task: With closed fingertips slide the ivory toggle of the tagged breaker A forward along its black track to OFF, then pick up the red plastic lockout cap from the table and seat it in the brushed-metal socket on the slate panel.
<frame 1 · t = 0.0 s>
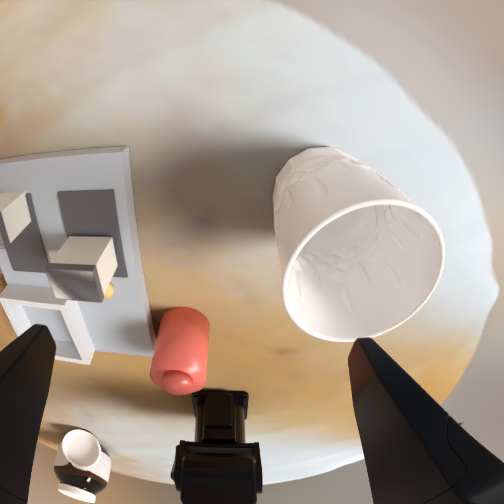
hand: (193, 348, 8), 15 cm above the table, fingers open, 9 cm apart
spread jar: (85, 438, 45), on the table
breaker A: (83, 267, 20), point 4 cm above the table, slide at 0.0 cm
panel: (66, 261, 24), on the table
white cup: (320, 191, 22), on the table
cap: (185, 324, 28), on the table
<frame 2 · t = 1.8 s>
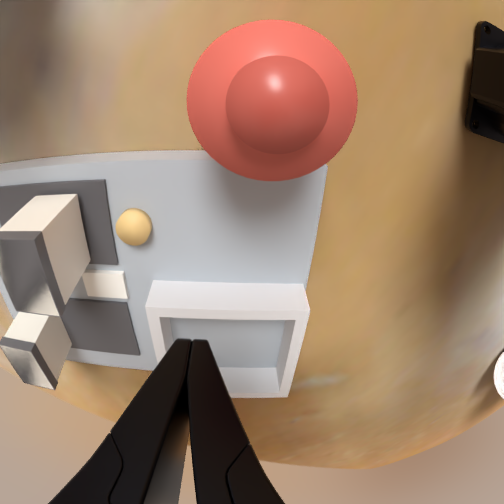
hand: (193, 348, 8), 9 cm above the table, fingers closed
breaker A: (44, 251, 12), point 4 cm above the table, slide at 0.0 cm
panel: (131, 273, 17), on the table
cap: (258, 86, 13), on the table
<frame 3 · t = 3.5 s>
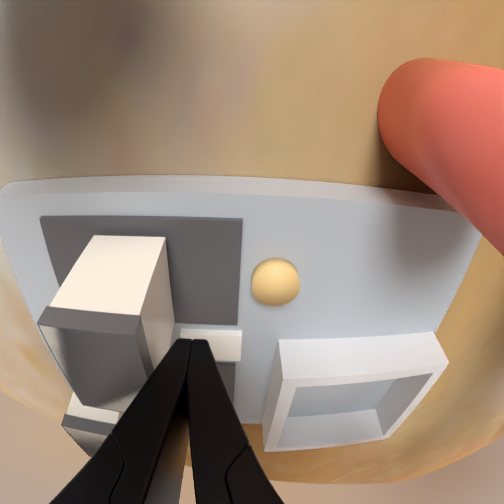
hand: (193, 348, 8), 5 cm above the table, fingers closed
breaker A: (120, 323, 9), point 4 cm above the table, slide at 1.0 cm, touching gripper
panel: (235, 326, 14), on the table
cap: (430, 116, 10), on the table
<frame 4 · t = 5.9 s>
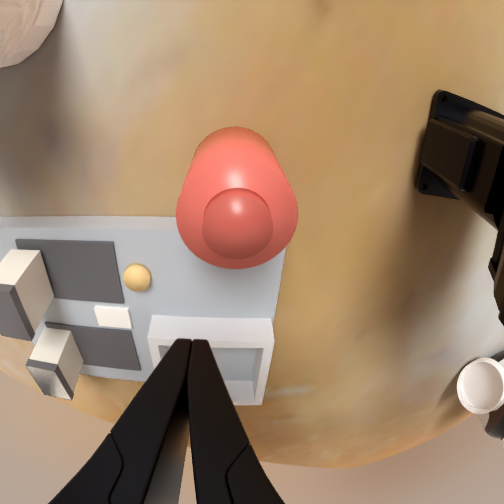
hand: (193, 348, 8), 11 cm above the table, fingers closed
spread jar: (483, 367, 32), on the table
breaker A: (18, 293, 15), point 4 cm above the table, slide at 3.6 cm
panel: (133, 307, 21), on the table
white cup: (18, 13, 10), on the table
cap: (234, 167, 17), on the table
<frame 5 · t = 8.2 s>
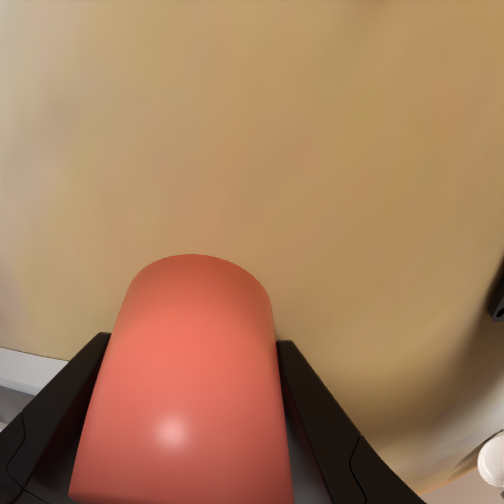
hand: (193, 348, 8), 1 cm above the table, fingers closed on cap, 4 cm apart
panel: (96, 433, 14), on the table
cap: (197, 316, 9), on the table, touching gripper
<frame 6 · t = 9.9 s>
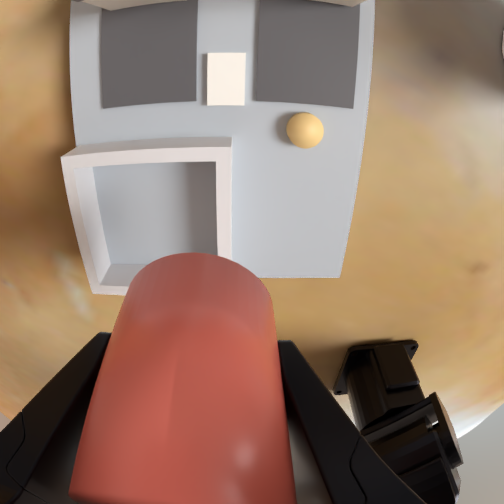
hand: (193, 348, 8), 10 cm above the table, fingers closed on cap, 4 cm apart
panel: (217, 97, 14), on the table
cap: (198, 315, 9), point 9 cm above the table, touching gripper
when the fingers open (4 cm above the table, at t = 11.5 s): cap drops 2 cm, resting on panel.
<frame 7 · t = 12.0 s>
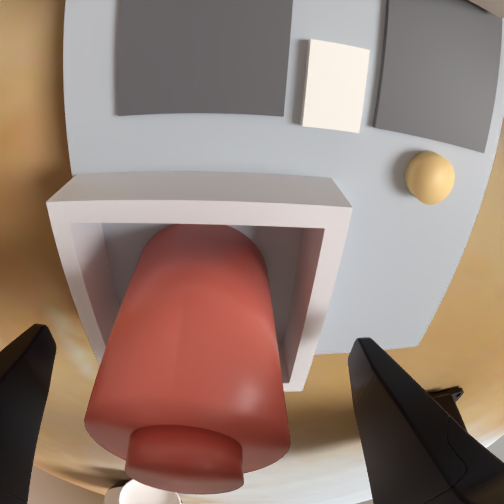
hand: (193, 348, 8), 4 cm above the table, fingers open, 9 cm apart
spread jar: (146, 483, 30), on the table
panel: (301, 110, 9), on the table
cap: (201, 278, 11), point 2 cm above the table, touching panel
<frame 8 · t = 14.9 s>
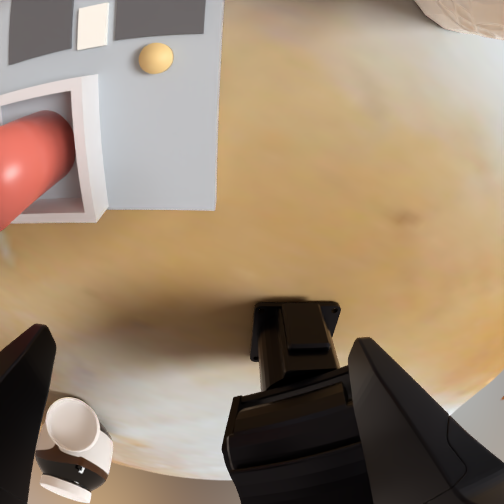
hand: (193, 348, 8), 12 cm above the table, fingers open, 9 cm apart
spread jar: (79, 413, 34), on the table
panel: (96, 46, 13), on the table
cap: (45, 147, 15), point 2 cm above the table, touching panel
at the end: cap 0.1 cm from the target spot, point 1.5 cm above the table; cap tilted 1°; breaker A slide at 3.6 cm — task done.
